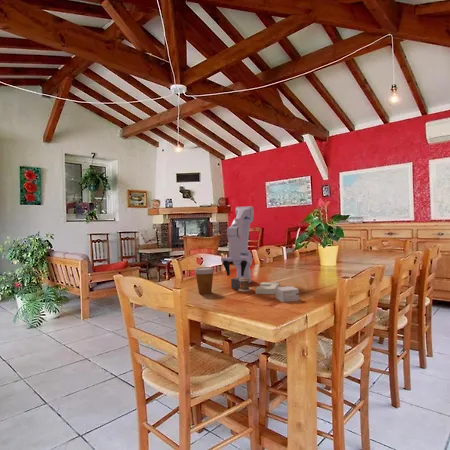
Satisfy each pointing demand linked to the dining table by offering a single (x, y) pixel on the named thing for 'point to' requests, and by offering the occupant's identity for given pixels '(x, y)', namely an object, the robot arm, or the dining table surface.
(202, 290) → the disposable coffee cup
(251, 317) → the dining table surface
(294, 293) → the small box
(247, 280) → the bobbin post
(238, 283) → the block
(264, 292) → the notch board
